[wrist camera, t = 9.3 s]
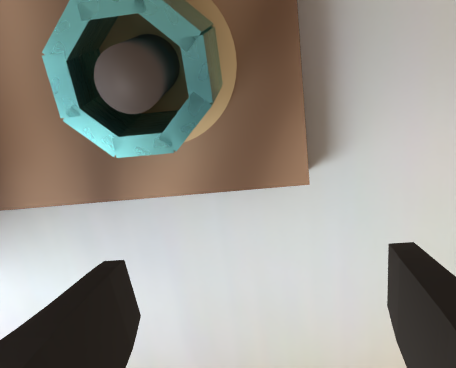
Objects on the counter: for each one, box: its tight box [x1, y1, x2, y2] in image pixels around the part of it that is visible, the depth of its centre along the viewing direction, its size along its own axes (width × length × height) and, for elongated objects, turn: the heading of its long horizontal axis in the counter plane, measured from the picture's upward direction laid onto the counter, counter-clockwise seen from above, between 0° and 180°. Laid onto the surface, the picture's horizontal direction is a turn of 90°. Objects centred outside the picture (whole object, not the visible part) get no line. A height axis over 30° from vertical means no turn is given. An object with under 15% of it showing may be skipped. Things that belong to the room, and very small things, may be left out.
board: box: [0, 0, 309, 211], centre depth 17 cm, size 18×12×4 cm, turn 98°
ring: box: [42, 0, 223, 158], centre depth 16 cm, size 6×6×3 cm
